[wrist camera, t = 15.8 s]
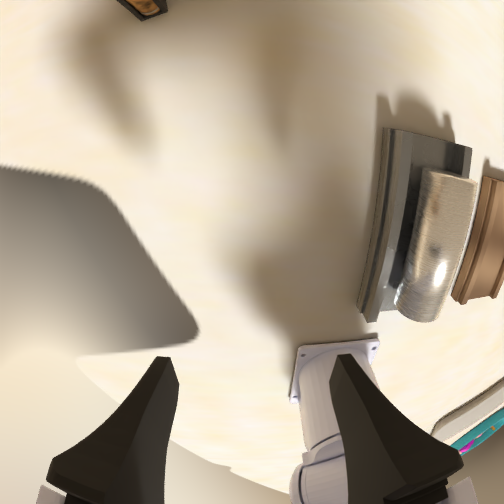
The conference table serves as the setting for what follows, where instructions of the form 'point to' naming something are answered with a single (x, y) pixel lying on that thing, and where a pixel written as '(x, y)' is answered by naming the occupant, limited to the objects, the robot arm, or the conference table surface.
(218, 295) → the conference table surface
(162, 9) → the ammunition clip
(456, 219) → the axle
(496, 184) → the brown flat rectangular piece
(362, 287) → the cradle
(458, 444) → the teal round ring
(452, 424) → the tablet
